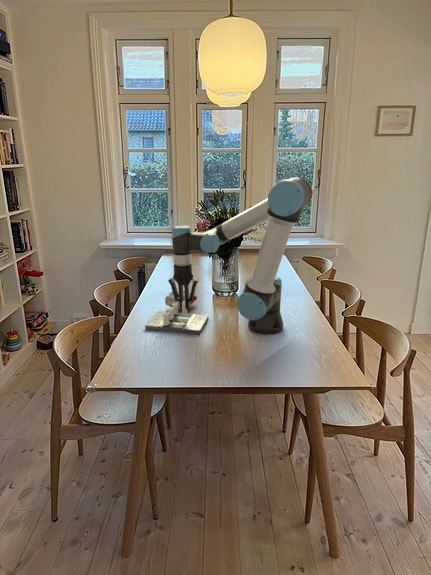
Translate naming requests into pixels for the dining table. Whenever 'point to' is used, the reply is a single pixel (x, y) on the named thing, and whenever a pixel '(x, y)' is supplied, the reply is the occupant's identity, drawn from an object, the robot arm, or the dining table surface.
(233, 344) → the dining table surface
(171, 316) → the breaker mid
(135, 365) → the dining table surface
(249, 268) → the dining table surface
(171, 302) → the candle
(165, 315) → the breaker near
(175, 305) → the breaker far
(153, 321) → the panel
